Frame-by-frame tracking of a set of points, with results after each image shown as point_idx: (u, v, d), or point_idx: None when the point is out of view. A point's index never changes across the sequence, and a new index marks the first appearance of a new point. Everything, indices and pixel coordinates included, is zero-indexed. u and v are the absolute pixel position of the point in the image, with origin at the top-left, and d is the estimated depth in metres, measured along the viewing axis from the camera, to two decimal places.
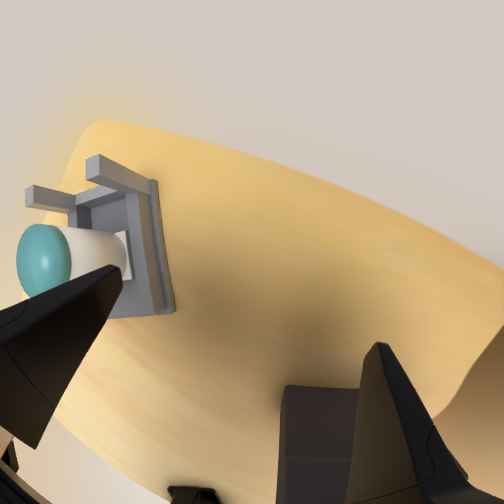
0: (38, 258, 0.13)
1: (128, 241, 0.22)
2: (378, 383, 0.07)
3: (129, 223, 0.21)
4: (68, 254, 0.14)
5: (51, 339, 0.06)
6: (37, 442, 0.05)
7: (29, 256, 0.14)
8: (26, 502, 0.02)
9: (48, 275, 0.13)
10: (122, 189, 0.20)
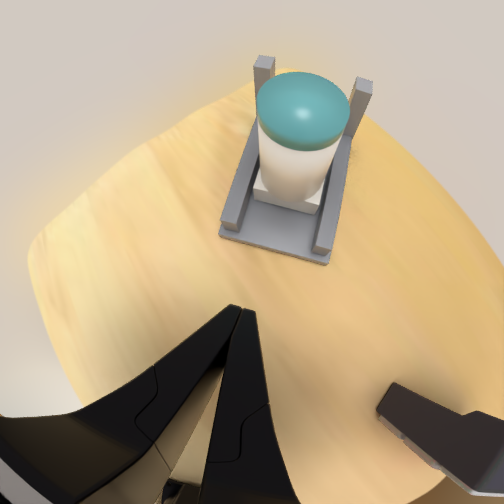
0: (311, 100, 0.13)
1: None
2: (228, 348, 0.07)
3: (335, 157, 0.21)
4: None
5: (190, 409, 0.06)
6: None
7: (293, 92, 0.13)
8: None
9: (324, 120, 0.12)
10: (348, 125, 0.20)
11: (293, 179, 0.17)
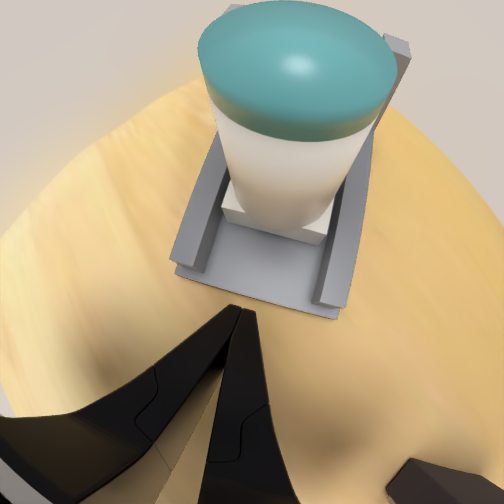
0: (316, 38, 0.05)
1: None
2: (228, 348, 0.07)
3: None
4: None
5: (190, 409, 0.06)
6: None
7: (278, 26, 0.05)
8: None
9: (347, 72, 0.05)
10: None
11: (282, 197, 0.09)
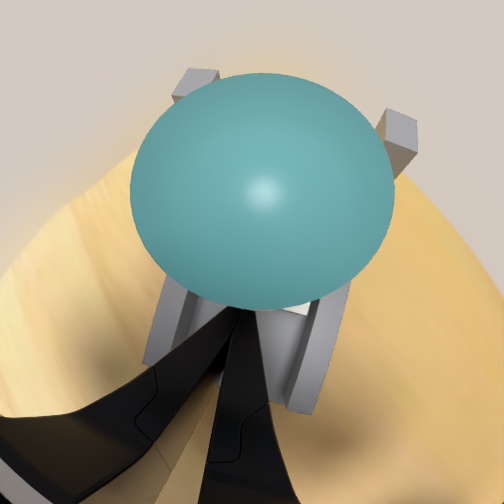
0: (285, 160, 0.05)
1: None
2: (228, 348, 0.07)
3: None
4: None
5: (190, 409, 0.06)
6: None
7: (235, 135, 0.05)
8: None
9: (319, 234, 0.04)
10: None
11: None
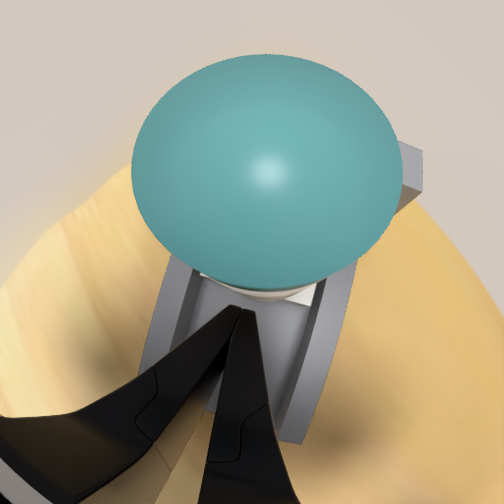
0: (292, 135, 0.04)
1: None
2: (228, 348, 0.07)
3: (327, 286, 0.12)
4: None
5: (190, 409, 0.06)
6: None
7: (240, 112, 0.05)
8: None
9: (328, 208, 0.04)
10: None
11: (255, 297, 0.08)
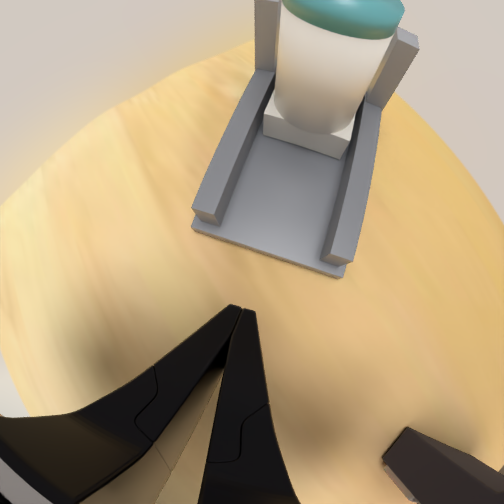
0: None
1: None
2: (228, 348, 0.07)
3: (361, 130, 0.14)
4: None
5: (190, 409, 0.06)
6: None
7: None
8: None
9: (375, 4, 0.06)
10: (380, 91, 0.13)
11: (324, 88, 0.10)
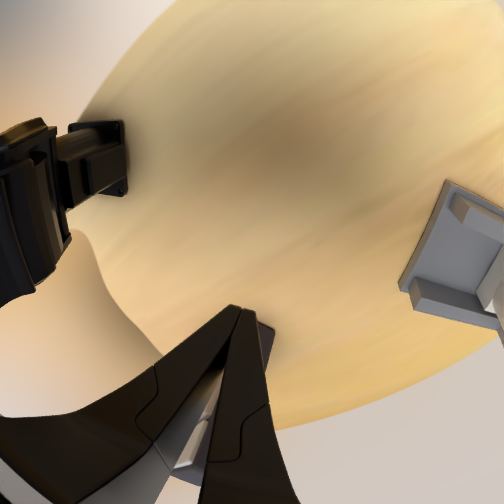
0: None
1: None
2: (228, 348, 0.07)
3: (488, 317, 0.16)
4: None
5: (190, 409, 0.06)
6: None
7: None
8: None
9: None
10: None
11: None
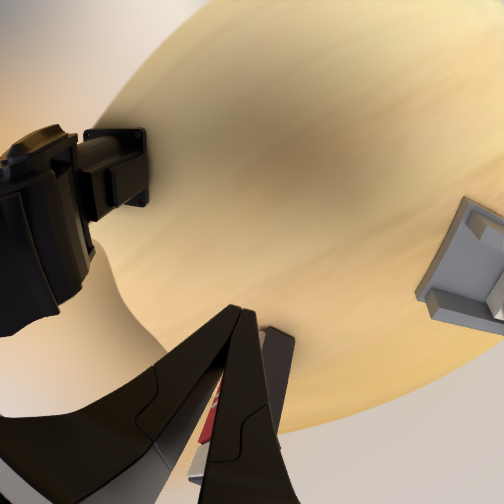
0: None
1: None
2: (228, 348, 0.07)
3: (497, 323, 0.16)
4: None
5: (190, 409, 0.06)
6: None
7: None
8: None
9: None
10: None
11: None
